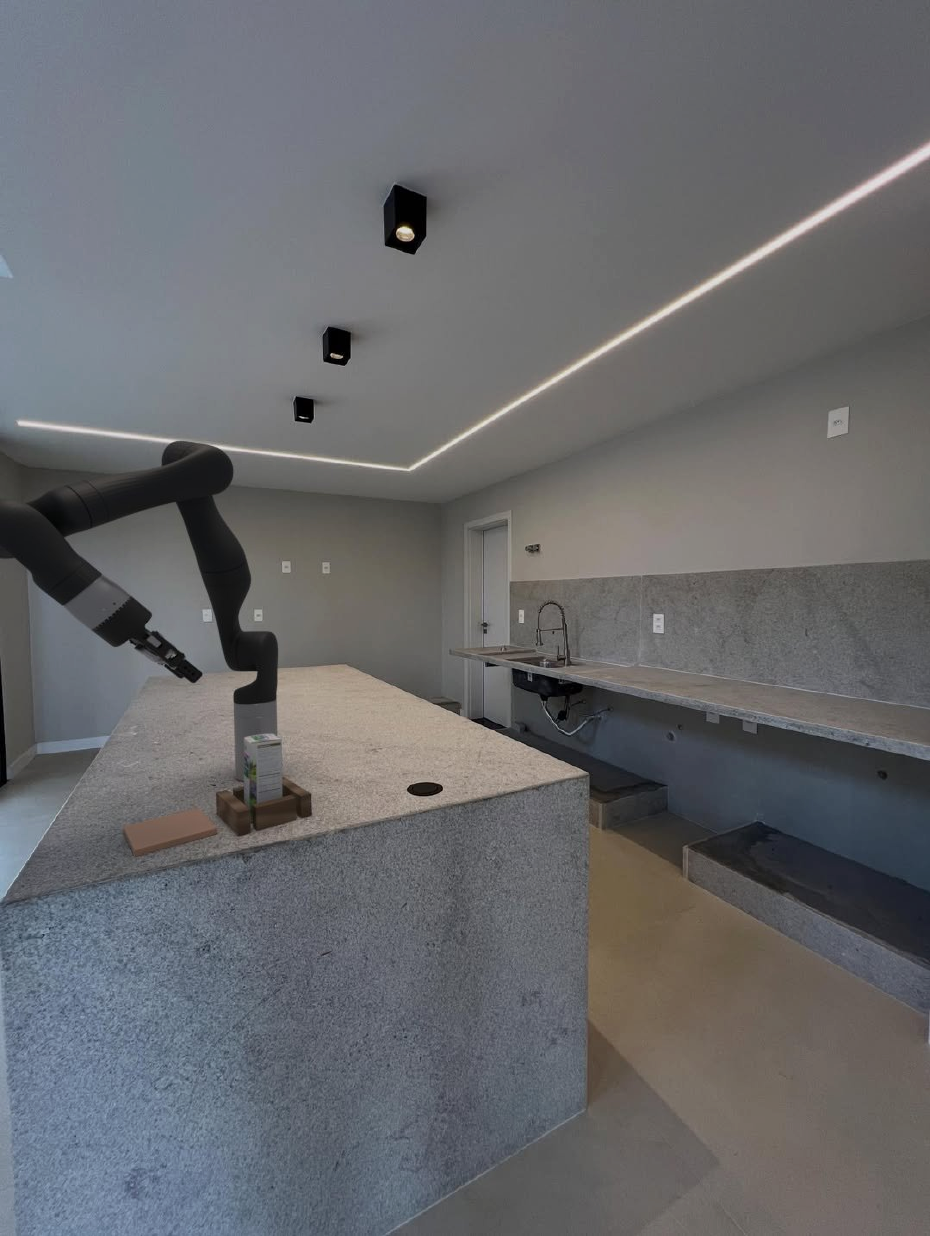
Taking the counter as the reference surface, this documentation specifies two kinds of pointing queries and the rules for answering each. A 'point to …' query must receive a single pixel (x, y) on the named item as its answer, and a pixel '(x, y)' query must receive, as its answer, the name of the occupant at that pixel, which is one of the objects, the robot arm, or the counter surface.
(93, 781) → the counter surface
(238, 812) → the walnut pocket collar
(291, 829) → the counter surface
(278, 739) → the syrup box
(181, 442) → the robot arm
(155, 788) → the counter surface
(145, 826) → the terracotta tile
